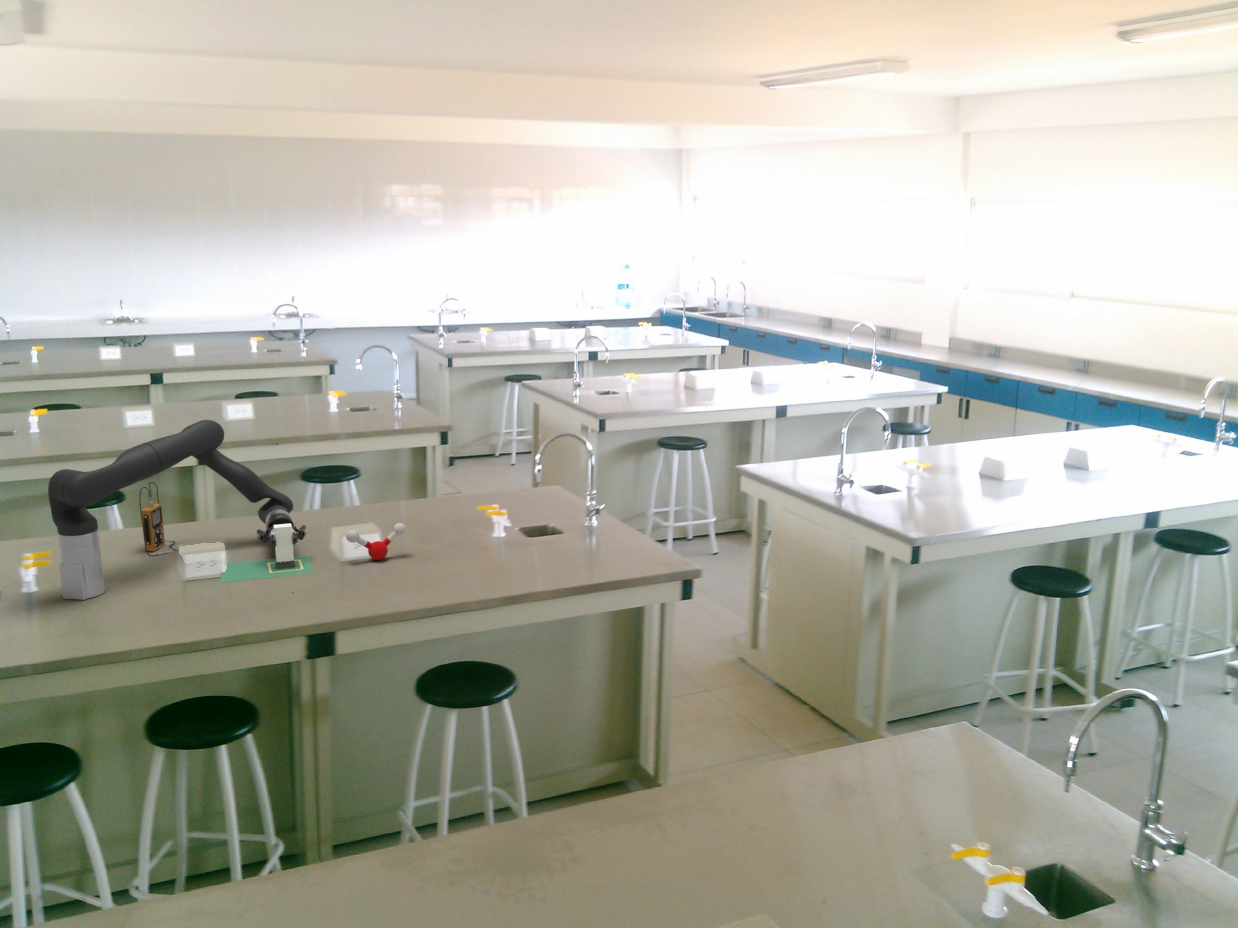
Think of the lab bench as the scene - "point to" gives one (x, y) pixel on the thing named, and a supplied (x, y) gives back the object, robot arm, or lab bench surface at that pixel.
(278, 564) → the pin header
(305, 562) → the circuit board
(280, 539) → the plug
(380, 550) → the molecular model
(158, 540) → the multimeter
